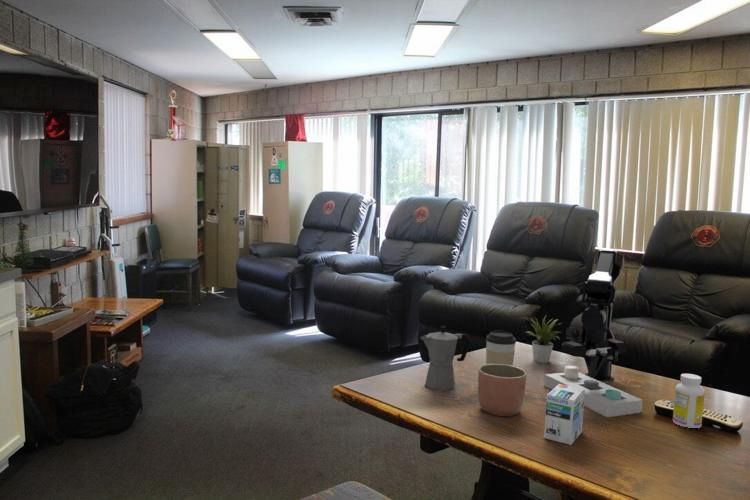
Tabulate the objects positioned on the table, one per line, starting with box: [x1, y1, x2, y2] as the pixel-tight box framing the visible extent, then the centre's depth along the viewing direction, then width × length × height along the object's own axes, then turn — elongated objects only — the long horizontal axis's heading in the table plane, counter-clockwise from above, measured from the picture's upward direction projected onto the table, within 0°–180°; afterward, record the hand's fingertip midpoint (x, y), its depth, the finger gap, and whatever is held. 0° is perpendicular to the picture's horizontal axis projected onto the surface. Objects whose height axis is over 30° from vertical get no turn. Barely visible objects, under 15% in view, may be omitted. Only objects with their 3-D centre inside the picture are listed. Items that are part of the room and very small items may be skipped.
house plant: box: [521, 314, 562, 364], centre depth 208 cm, size 14×14×16 cm
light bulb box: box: [543, 384, 585, 446], centre depth 145 cm, size 11×7×11 cm, turn 148°
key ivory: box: [563, 365, 580, 381], centre depth 180 cm, size 4×4×4 cm
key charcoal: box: [584, 380, 599, 390], centre depth 172 cm, size 4×4×4 cm
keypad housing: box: [543, 372, 644, 418], centre depth 172 cm, size 12×26×4 cm, turn 22°
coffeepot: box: [420, 325, 472, 392], centre depth 177 cm, size 15×9×18 cm, turn 101°
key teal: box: [605, 389, 621, 400], centre depth 164 cm, size 4×4×4 cm
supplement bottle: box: [672, 373, 705, 429], centre depth 155 cm, size 7×7×13 cm
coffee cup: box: [485, 329, 517, 366], centre depth 185 cm, size 9×9×15 cm
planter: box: [477, 364, 528, 417], centre depth 159 cm, size 12×12×11 cm
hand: (591, 376), depth 172 cm, fingers closed
